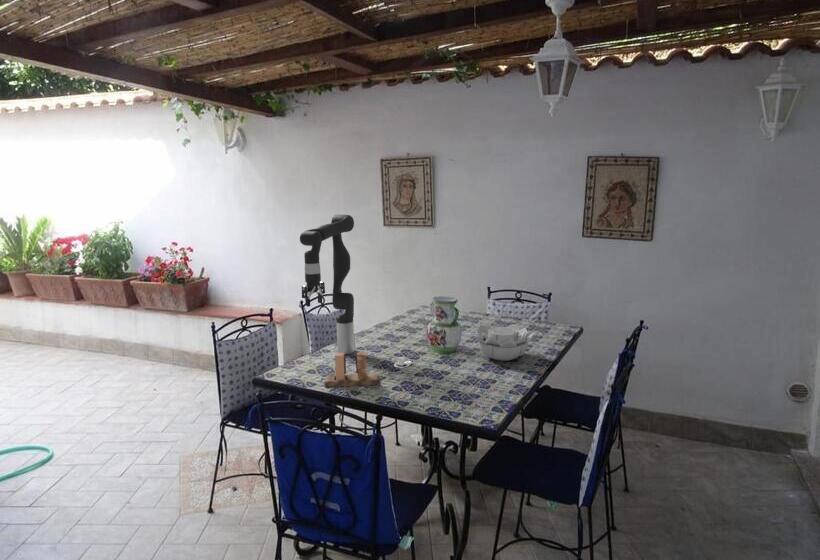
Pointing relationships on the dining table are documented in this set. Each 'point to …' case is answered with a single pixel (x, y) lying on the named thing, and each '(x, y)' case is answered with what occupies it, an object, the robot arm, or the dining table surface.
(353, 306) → the robot arm
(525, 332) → the decorative bowl
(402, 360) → the teacup and saucer
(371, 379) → the rail
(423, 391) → the dining table surface
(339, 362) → the tall tan pillar block
